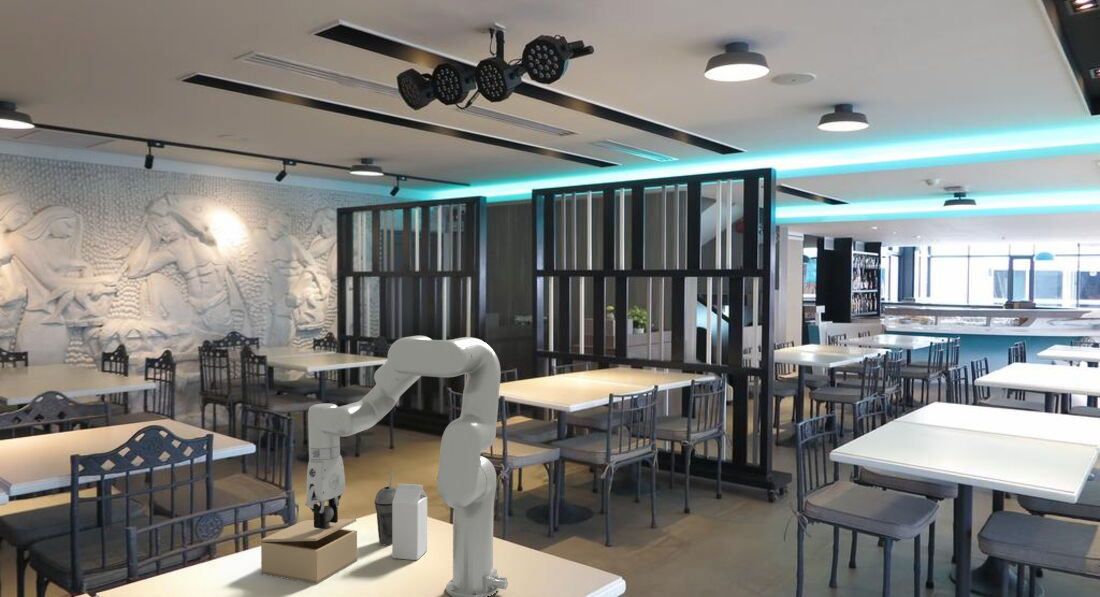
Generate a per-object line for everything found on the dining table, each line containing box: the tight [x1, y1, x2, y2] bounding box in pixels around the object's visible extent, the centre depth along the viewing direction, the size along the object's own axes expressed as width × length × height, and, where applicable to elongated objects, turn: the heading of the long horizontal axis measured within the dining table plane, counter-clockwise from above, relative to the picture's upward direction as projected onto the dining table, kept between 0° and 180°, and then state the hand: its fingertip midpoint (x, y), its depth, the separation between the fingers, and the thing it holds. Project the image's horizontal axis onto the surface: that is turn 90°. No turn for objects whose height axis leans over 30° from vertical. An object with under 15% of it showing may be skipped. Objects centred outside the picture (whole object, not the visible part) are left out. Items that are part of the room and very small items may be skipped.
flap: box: [260, 505, 357, 542], centre depth 188 cm, size 17×16×6 cm
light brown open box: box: [260, 528, 358, 585], centre depth 188 cm, size 17×16×8 cm
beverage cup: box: [374, 471, 397, 546], centre depth 206 cm, size 7×7×20 cm
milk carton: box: [391, 483, 428, 561], centre depth 197 cm, size 7×7×19 cm
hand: (325, 524), depth 186 cm, fingers closed on flap, 4 cm apart
